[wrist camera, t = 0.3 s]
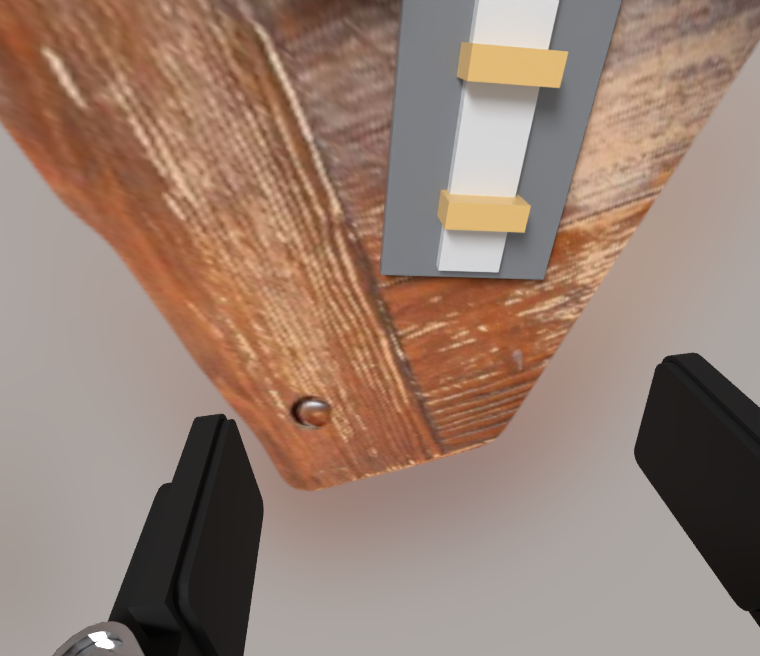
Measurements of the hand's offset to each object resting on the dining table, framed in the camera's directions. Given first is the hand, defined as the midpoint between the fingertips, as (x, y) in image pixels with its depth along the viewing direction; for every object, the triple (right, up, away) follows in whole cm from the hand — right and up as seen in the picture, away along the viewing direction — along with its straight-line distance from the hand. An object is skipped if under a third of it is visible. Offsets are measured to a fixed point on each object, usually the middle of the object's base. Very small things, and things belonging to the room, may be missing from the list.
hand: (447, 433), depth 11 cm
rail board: (+6, +17, +25) cm, 31 cm away
